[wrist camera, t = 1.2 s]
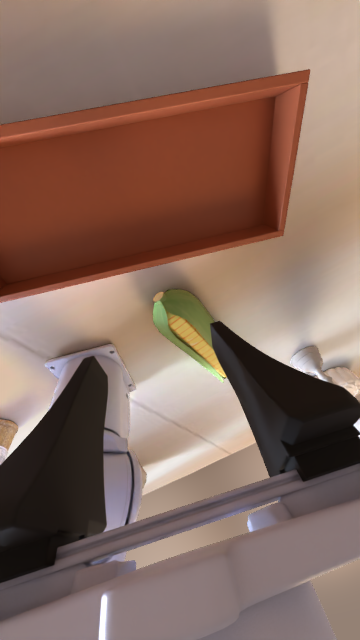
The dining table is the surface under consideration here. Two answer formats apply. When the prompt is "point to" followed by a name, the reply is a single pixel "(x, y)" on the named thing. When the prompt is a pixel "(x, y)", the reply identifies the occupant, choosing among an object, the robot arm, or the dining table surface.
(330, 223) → the dining table surface
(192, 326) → the edible corn
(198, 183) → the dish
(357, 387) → the mooncake
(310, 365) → the chalice
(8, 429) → the sprinkles bottle
